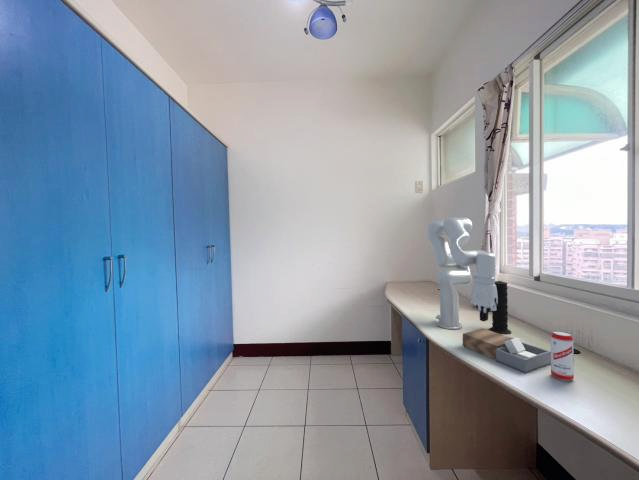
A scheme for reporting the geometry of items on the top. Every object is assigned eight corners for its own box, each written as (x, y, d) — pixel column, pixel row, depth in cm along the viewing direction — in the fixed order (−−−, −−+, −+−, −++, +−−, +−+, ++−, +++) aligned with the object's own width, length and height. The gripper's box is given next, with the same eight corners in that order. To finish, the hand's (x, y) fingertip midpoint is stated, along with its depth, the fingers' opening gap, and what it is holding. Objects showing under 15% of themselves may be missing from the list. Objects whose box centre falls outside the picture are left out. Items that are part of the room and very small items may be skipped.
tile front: (529, 357, 109) (529, 366, 109) (537, 355, 111) (537, 363, 111) (516, 352, 114) (516, 361, 114) (523, 350, 116) (523, 358, 116)
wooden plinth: (462, 346, 131) (462, 333, 131) (483, 341, 137) (483, 328, 136) (497, 360, 116) (496, 345, 116) (518, 353, 122) (518, 339, 122)
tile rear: (503, 341, 118) (510, 339, 116) (511, 339, 120) (518, 337, 118) (510, 354, 116) (518, 352, 113) (518, 351, 118) (525, 349, 115)
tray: (496, 361, 116) (495, 349, 115) (520, 353, 122) (520, 341, 122) (525, 373, 105) (525, 360, 105) (550, 364, 112) (550, 351, 112)
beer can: (575, 383, 98) (575, 337, 97) (552, 379, 101) (552, 334, 100) (571, 375, 103) (571, 331, 102) (549, 371, 106) (549, 329, 106)
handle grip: (493, 333, 146) (515, 334, 144) (492, 282, 145) (514, 282, 143) (486, 327, 155) (506, 328, 153) (485, 279, 155) (506, 279, 153)
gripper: (464, 278, 133) (463, 316, 134) (495, 284, 119) (494, 327, 121) (475, 276, 136) (474, 314, 137) (507, 282, 122) (505, 324, 124)
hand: (483, 320), depth 129 cm, fingers closed
